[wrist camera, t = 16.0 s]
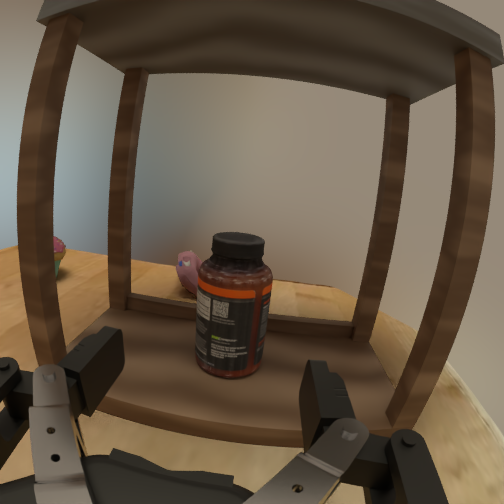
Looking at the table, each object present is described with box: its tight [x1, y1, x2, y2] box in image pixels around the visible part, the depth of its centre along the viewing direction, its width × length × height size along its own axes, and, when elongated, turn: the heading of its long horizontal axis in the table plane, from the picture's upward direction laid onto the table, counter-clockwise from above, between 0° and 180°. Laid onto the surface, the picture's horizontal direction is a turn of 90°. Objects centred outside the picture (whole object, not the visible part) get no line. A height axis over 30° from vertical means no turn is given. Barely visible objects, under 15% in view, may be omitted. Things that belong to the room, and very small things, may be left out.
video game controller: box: [176, 250, 203, 296], centre depth 47 cm, size 10×5×7 cm, turn 9°
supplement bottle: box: [195, 232, 273, 378], centre depth 25 cm, size 6×6×11 cm
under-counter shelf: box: [17, 0, 504, 447], centre depth 23 cm, size 17×32×32 cm, turn 87°
